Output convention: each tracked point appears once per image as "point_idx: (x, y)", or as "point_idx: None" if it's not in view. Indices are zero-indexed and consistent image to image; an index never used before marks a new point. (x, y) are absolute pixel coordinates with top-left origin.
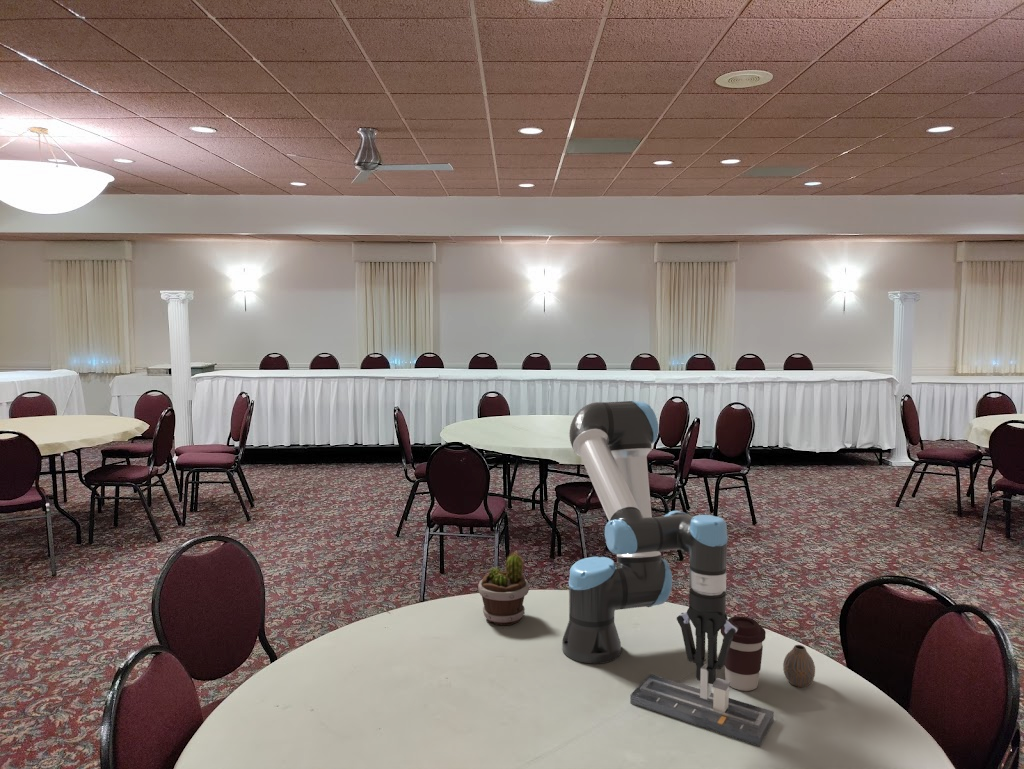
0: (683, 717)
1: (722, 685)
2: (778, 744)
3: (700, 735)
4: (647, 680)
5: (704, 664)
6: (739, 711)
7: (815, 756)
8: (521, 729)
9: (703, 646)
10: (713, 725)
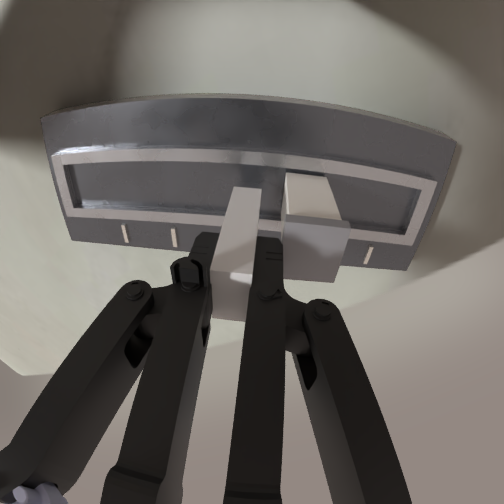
0: None
1: (319, 271)
2: (437, 230)
3: None
4: (55, 171)
5: (213, 281)
6: (362, 180)
7: (487, 238)
8: (59, 333)
9: (188, 399)
10: None
